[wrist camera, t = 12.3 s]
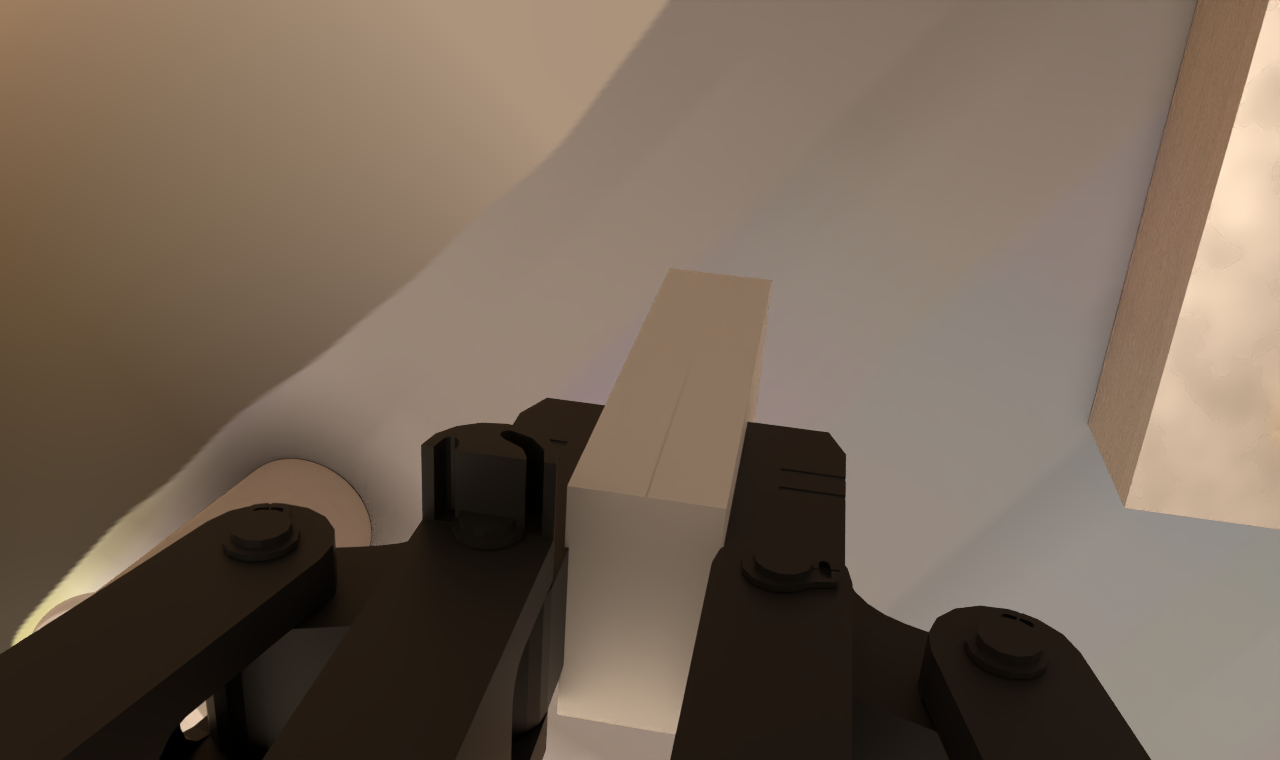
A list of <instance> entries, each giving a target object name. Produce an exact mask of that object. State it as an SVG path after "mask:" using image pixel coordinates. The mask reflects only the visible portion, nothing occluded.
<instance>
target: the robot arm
mask: <svg viewBox="0 0 1280 760" xmlns="http://www.w3.org/2000/svg"><path fill="white" fill-rule="evenodd" d="M771 283H772V280H764V279H755V278H747V277H738V276H730V275H722V274H713V273H705V272H696V271H688V270H679V269H671V268H670V269H669V271H668V273H667V275H666V277H665V279H664V281H663V284H662V286H661V288H660V290H659V292H658V294H657V296H656V298H655V301H654V303H653V305H652V307H651V309H650V311H649V313H648V315H647V318H646V320H645V322H644V324H643V326H642V328H641V330H640V332H639V335H638V337H637V339H636V341H635V343H634V345H633V347H632V349H631V352H630V354H629V356H628V358H627V360H626V362H625V364H624V366H623V369H622V371H621V373H620V375H619V377H618V379H617V381H616V383H615V386H614V388H613V390H612V392H611V394H610V396H609V398H608V400H607V403H606V405H597V404H590V403H582V402H575V401H567V400H560V399H553V398H546V399H544V400H542V401H541V402H539V403H537V404H535V405H534V406H532V407H530V408H528V409H526V410H525V411H523V412H521V413H520V414H519V416H518V417H517V419H516V421H515V422H514V424H513V425H510V424H498V423H476V424H469V425H462V426H456V427H453V428H450V429H447V430H445V431H442V432H439V433H436V434H434V435H433V436H432V437H431V438H429V439H428V440H427V441H426V442H424V443H423V444H422V445H421V458H422V513H423V520H422V521H421V523H420V524H419V526H418V527H417V529H416V530H415V532H414V533H413V535H412V536H411V538H410V539H409V541H407V542H403V543H399V544H390V545H381V546H362V547H338V548H336V543H335V529H334V528H333V526H332V525H331V523H330V522H329V520H328V519H327V518H326V517H325V516H323V515H321V514H320V513H318V512H316V511H314V510H312V509H310V508H307V507H301V506H296V505H290V504H284V503H272V504H269V503H262V504H254V505H251V506H248V507H243V508H239V509H235V510H230V511H228V512H226V513H224V514H222V515H220V516H217V517H215V518H213V519H211V520H209V521H207V522H205V523H204V524H202V525H201V526H199V527H198V528H196V529H194V530H193V531H191V532H190V533H188V534H187V535H185V536H184V537H182V538H180V539H179V540H177V541H176V542H174V543H173V544H171V545H170V546H168V547H166V548H165V549H163V550H162V551H160V552H159V553H157V554H156V555H154V556H152V557H151V558H149V559H148V560H146V561H145V562H143V563H142V564H140V565H138V566H137V567H135V568H134V569H132V570H131V571H129V572H128V573H126V574H124V575H123V576H121V577H120V578H118V579H117V580H115V581H114V582H112V583H110V584H109V585H107V586H106V587H104V588H103V589H101V590H100V591H98V592H96V593H95V594H93V595H92V596H90V597H89V598H87V599H86V600H84V601H82V602H81V603H79V604H78V605H76V606H75V607H73V608H72V609H70V610H68V611H67V612H65V613H64V614H62V615H61V616H59V617H58V618H56V619H54V620H53V621H51V622H50V623H48V624H47V625H45V626H44V627H42V628H40V629H39V630H37V631H36V632H34V633H33V634H31V635H30V636H28V637H26V638H25V639H23V640H22V641H20V642H19V643H17V644H16V645H14V646H12V647H11V648H9V649H8V650H6V651H5V652H3V653H2V654H0V760H542V759H543V756H544V753H545V750H546V738H547V716H548V707H549V704H550V702H551V699H552V696H553V693H554V691H555V688H556V685H557V682H558V680H559V686H558V709H557V714H558V715H564V716H570V717H576V718H581V719H587V720H593V721H599V722H605V723H610V724H616V725H622V726H628V727H634V728H640V729H645V730H651V731H657V732H663V733H669V734H675V740H674V745H673V750H672V754H671V759H670V760H1151V759H1150V757H1149V756H1148V754H1147V753H1146V751H1145V750H1144V748H1143V747H1142V745H1141V744H1140V742H1139V741H1138V739H1137V738H1136V736H1135V735H1134V733H1133V731H1132V730H1131V728H1130V727H1129V725H1128V724H1127V722H1126V721H1125V719H1124V718H1123V716H1122V715H1121V713H1120V712H1119V710H1118V709H1117V707H1116V706H1115V704H1114V703H1113V701H1112V700H1111V698H1110V697H1109V695H1108V694H1107V692H1106V691H1105V689H1104V688H1103V686H1102V685H1101V683H1100V682H1099V680H1098V679H1097V677H1096V675H1095V674H1094V672H1093V671H1092V669H1091V668H1090V666H1089V665H1088V663H1087V662H1086V660H1085V659H1084V657H1083V656H1082V654H1081V653H1080V652H1079V651H1078V650H1077V649H1076V648H1075V647H1074V645H1073V644H1072V643H1071V642H1070V641H1069V640H1068V639H1067V638H1066V637H1065V636H1064V635H1063V634H1061V633H1060V632H1058V631H1056V630H1055V629H1053V628H1051V627H1050V626H1048V625H1046V624H1045V623H1043V622H1041V621H1040V620H1038V619H1035V618H1033V617H1030V616H1028V615H1025V614H1023V613H1022V614H1021V613H1018V612H1016V611H1012V610H1009V609H1003V608H994V607H987V606H973V607H965V608H956V609H953V610H951V611H950V612H948V613H946V614H944V615H942V616H940V617H938V618H937V619H936V621H935V622H934V624H933V626H932V628H931V629H930V631H929V632H926V631H923V630H921V629H918V628H915V627H912V626H910V625H907V624H904V623H902V622H900V621H898V620H895V619H893V618H891V617H889V616H886V615H884V614H883V613H881V612H880V611H878V610H876V609H875V608H873V607H872V606H870V605H869V604H867V603H866V602H865V601H864V600H863V599H862V598H861V597H860V596H859V595H858V594H857V593H856V592H855V591H854V589H853V588H852V581H851V578H850V575H849V572H848V569H847V567H846V566H845V493H846V481H845V478H846V454H845V453H844V452H843V450H842V449H841V448H840V446H839V445H838V444H837V443H836V441H835V440H834V439H833V437H832V436H831V435H830V433H828V432H821V431H813V430H806V429H798V428H791V427H783V426H776V425H768V424H761V423H755V415H756V407H757V399H758V390H759V382H760V374H761V366H762V357H763V349H764V341H765V332H766V324H767V316H768V308H769V299H770V291H771ZM205 701H206V709H207V715H206V716H205V717H204V718H203V719H202V720H201V721H199V722H198V723H197V724H196V725H195V726H193V727H192V728H190V729H188V730H186V731H184V732H182V730H181V726H180V723H181V722H182V721H183V720H184V719H185V718H186V717H187V716H188V715H189V714H190V713H192V712H193V711H194V710H195V709H196V708H198V707H199V706H200V705H201V704H202V703H204V702H205Z"/></svg>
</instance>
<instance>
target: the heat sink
mask: <svg viewBox="0 0 1280 760" xmlns="http://www.w3.org/2000/svg"><path fill="white" fill-rule="evenodd" d="M1088 426H1089V428H1090V430H1091V433H1092V435H1093V437H1094V439H1095V442H1096V444H1097V446H1098V448H1099V451H1100V453H1101V455H1102V458H1103V460H1104V462H1105V464H1106V467H1107V469H1108V471H1109V474H1110V476H1111V478H1112V480H1113V483H1114V485H1115V487H1116V489H1117V492H1118V494H1119V496H1120V499H1121V501H1122V503H1123V505H1124V508H1130V509H1137V510H1144V511H1152V512H1159V513H1166V514H1173V515H1180V516H1188V517H1195V518H1202V519H1209V520H1216V521H1224V522H1231V523H1238V524H1245V525H1253V526H1260V527H1267V528H1274V529H1280V0H1198V3H1197V6H1196V10H1195V14H1194V18H1193V22H1192V26H1191V30H1190V33H1189V37H1188V41H1187V45H1186V49H1185V53H1184V56H1183V60H1182V64H1181V68H1180V72H1179V76H1178V80H1177V83H1176V87H1175V91H1174V95H1173V99H1172V103H1171V106H1170V110H1169V114H1168V118H1167V122H1166V126H1165V130H1164V133H1163V137H1162V141H1161V145H1160V149H1159V153H1158V156H1157V160H1156V164H1155V168H1154V172H1153V176H1152V180H1151V183H1150V187H1149V191H1148V195H1147V199H1146V203H1145V206H1144V210H1143V214H1142V218H1141V222H1140V226H1139V230H1138V233H1137V237H1136V241H1135V245H1134V249H1133V253H1132V256H1131V260H1130V264H1129V268H1128V272H1127V276H1126V280H1125V283H1124V287H1123V291H1122V295H1121V299H1120V303H1119V306H1118V310H1117V314H1116V318H1115V322H1114V326H1113V330H1112V333H1111V337H1110V341H1109V345H1108V349H1107V353H1106V356H1105V360H1104V364H1103V368H1102V372H1101V376H1100V380H1099V383H1098V387H1097V391H1096V395H1095V399H1094V403H1093V406H1092V410H1091V414H1090V418H1089V422H1088Z"/></svg>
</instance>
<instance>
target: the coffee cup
mask: <svg viewBox="0 0 1280 760" xmlns="http://www.w3.org/2000/svg"><path fill="white" fill-rule="evenodd" d="M262 503H269V504H272V503H284V504H290V505H296V506H301V507H307V508H310V509H312V510H314V511H316V512H318V513H320V514H321V515H323V516H325V517H326V518H327V519H328V520H329V522H330V523H331V525H332V526H333V528H334V529H335V543H336V548H338V547H362V546H370V542H371V524H370V519H369V516H368V513H367V510H366V508H365V506H364V504H363V502H362V500H361V498H360V497H359V495H358V494H357V493H356V491H355V490H354V489H353V488H352V487H351V486H350V485H349V484H348V483H347V482H346V481H345V480H344V479H343V478H342V477H340V476H339V475H338V474H336V473H335V472H333V471H331V470H330V469H328V468H326V467H324V466H321V465H319V464H316V463H313V462H310V461H306V460H300V459H281V460H276V461H272V462H269V463H267V464H265V465H263V466H261V467H260V468H258V469H257V470H255V471H254V472H253V473H251V474H250V475H249V476H247V477H246V478H245V479H243V480H242V481H241V482H240V483H238V484H237V485H236V486H234V487H233V488H232V489H230V490H229V491H228V492H227V493H225V494H224V495H223V496H221V497H220V498H219V499H217V500H216V501H215V502H213V503H212V504H211V505H210V506H208V507H207V508H206V509H204V510H203V511H202V512H200V513H199V514H198V515H197V516H195V517H194V518H193V519H191V520H190V521H189V522H187V523H186V524H185V525H183V526H182V527H181V528H180V529H178V530H177V531H176V532H174V533H173V534H172V535H170V536H169V537H168V538H166V539H165V540H164V541H162V542H161V543H160V544H159V545H157V546H156V547H155V548H153V549H152V550H151V551H149V552H148V553H147V554H145V555H144V556H143V557H141V558H140V559H139V560H138V561H136V562H135V563H134V564H132V565H131V566H130V567H128V568H127V569H126V570H124V571H123V572H122V573H120V574H119V575H118V576H116V577H115V578H114V579H112V580H111V581H110V582H108V583H107V584H106V585H104V586H103V587H102V588H100V589H99V590H98V591H100V590H101V589H103V588H104V587H106V586H107V585H109V584H110V583H112V582H114V581H115V580H117V579H118V578H120V577H121V576H123V575H124V574H126V573H128V572H129V571H131V570H132V569H134V568H135V567H137V566H138V565H140V564H142V563H143V562H145V561H146V560H148V559H149V558H151V557H152V556H154V555H156V554H157V553H159V552H160V551H162V550H163V549H165V548H166V547H168V546H170V545H171V544H173V543H174V542H176V541H177V540H179V539H180V538H182V537H184V536H185V535H187V534H188V533H190V532H191V531H193V530H194V529H196V528H198V527H199V526H201V525H202V524H204V523H205V522H207V521H209V520H211V519H213V518H215V517H217V516H220V515H222V514H224V513H226V512H228V511H230V510H235V509H239V508H243V507H248V506H251V505H254V504H262ZM98 591H96V592H98ZM96 592H94V593H88V594H83V595H79V596H76V597H73V598H70V599H68V600H66V601H64V602H62V603H60V604H58V605H57V606H55V607H54V608H53V609H51V610H50V611H49V612H48V613H47V614H46V615H45V616H44V617H43V618H42V619H41V620H40V622H39V623H38V624H37V626H36V628H35V629H34V631H33V633H34V632H36V631H37V630H39V629H40V628H42V627H44V626H45V625H47V624H48V623H50V622H51V621H53V620H54V619H56V618H58V617H59V616H61V615H62V614H64V613H65V612H67V611H68V610H70V609H72V608H73V607H75V606H76V605H78V604H79V603H81V602H82V601H84V600H86V599H87V598H89V597H90V596H92V595H93V594H95V593H96ZM33 633H32V634H33ZM206 715H207V709H206V701H205V702H204V703H202V704H201V705H200V706H199V707H198V708H196V709H195V710H194V711H193V712H192V713H190V714H189V715H188V716H187V717H186V718H185V719H184V720H183V721H182V722H181V723H180V726H181V730H182V732H184V731H186V730H188V729H190V728H192V727H193V726H195V725H196V724H197V723H198V722H199V721H201V720H202V719H203V718H204V717H205V716H206Z"/></svg>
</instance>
